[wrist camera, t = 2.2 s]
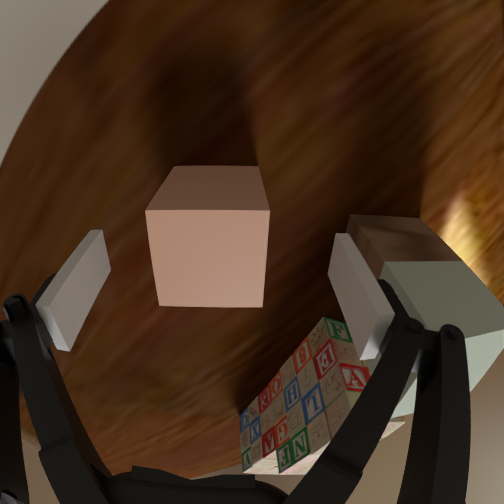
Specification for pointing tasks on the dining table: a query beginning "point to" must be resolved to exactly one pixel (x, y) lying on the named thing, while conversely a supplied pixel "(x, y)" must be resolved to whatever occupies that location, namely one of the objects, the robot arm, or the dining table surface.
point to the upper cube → (447, 313)
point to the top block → (209, 237)
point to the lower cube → (396, 241)
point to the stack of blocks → (305, 403)
